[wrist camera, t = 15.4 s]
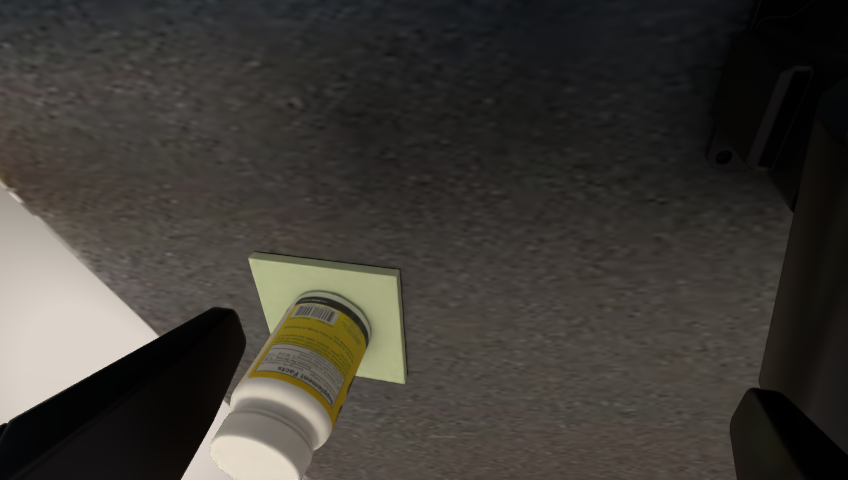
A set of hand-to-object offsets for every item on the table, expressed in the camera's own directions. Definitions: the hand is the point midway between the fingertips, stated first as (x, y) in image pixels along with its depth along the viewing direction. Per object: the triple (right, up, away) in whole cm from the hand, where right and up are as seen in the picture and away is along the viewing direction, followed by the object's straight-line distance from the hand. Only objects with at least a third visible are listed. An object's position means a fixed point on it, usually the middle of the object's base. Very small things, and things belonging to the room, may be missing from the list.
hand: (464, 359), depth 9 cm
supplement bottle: (-6, -2, +18) cm, 19 cm away
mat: (-6, -2, +18) cm, 19 cm away
